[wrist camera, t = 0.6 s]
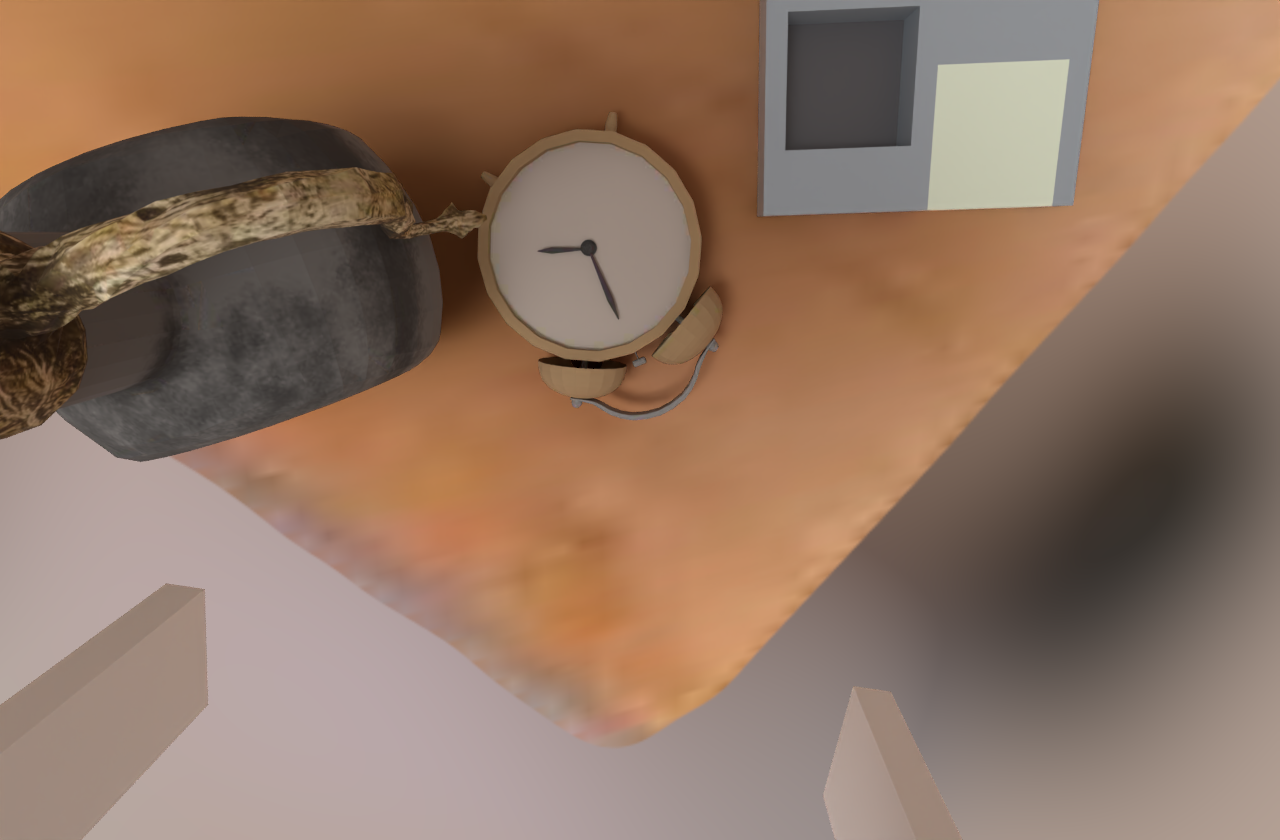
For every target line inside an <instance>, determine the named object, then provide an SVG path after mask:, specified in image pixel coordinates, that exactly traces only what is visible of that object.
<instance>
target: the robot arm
mask: <svg viewBox="0 0 1280 840" xmlns="http://www.w3.org/2000/svg"><path fill="white" fill-rule="evenodd" d="M205 619H206V618H205V589H200V588H192V587H186V586H179V585H173V584H165V585H164V586H162V587H161V588H160V589H159V590H157V591H155V592H154V593H153V594H151V595H150V596H149V597H147V598H146V599H145V600H143V601H142V602H141V603H139V604H138V605H136V606H135V607H134V608H132V609H131V610H130V611H128V612H127V613H125V614H124V615H123V616H121V617H120V618H119V619H117V620H116V621H115V622H113V623H112V624H110V625H109V626H108V627H106V628H105V629H104V630H102V631H101V632H99V633H98V634H97V635H96V636H94V637H93V638H91V639H90V640H89V641H88V642H86V643H84V644H83V645H82V646H81V647H79V648H78V649H76V650H75V651H74V652H72V653H71V654H70V655H68V656H67V657H65V658H64V659H63V660H61V661H60V662H59V663H57V664H56V665H55V666H53V667H52V668H50V669H49V670H48V671H46V672H45V673H43V674H42V675H41V676H39V677H38V678H37V679H35V680H34V681H33V682H31V683H30V684H28V685H27V686H26V687H24V688H23V689H22V690H21V691H19V692H18V693H16V694H15V695H13V696H12V697H11V698H9V699H8V700H7V701H5V702H4V703H3V704H1V705H0V840H82V839H83V837H84V836H85V835H86V834H87V833H88V832H89V831H90V830H91V829H92V828H93V827H94V826H95V824H97V823H98V822H99V820H100V819H101V818H102V817H103V816H104V815H105V814H106V813H107V812H108V811H109V810H110V809H111V808H112V807H113V806H114V804H115V803H116V802H117V801H118V800H119V799H120V798H121V797H122V796H123V795H124V794H125V793H126V792H127V790H129V788H130V787H131V786H132V785H133V784H134V783H135V782H136V781H137V780H138V779H139V778H140V777H141V776H142V775H143V774H144V772H145V771H146V770H147V769H148V768H149V767H150V766H151V765H152V764H153V763H154V762H155V761H156V760H157V758H158V757H159V756H160V755H161V754H162V753H163V752H164V751H165V750H166V749H167V748H168V747H169V746H170V745H171V744H172V742H174V740H175V739H176V738H177V737H178V736H179V735H180V734H181V733H182V732H183V731H184V730H185V729H186V727H188V725H189V724H190V723H191V722H192V721H193V720H194V719H195V718H196V717H197V716H198V715H199V714H200V713H201V712H202V710H203V709H204V708H205V707H206V706H207V705H208V689H207V655H206V620H205ZM823 798H824V801H825V805H826V808H827V812H828V815H829V819H830V823H831V826H832V830H833V834H834V837H835V840H962V838H961V836H960V834H959V832H958V830H957V827H956V826H955V823H954V821H953V819H952V817H951V815H950V813H949V811H948V809H947V807H946V805H945V803H944V801H943V799H942V797H941V795H940V792H939V790H938V788H937V786H936V784H935V782H934V780H933V778H932V776H931V774H930V772H929V770H928V768H927V766H926V764H925V762H924V759H923V757H922V755H921V753H920V751H919V749H918V747H917V745H916V743H915V741H914V739H913V737H912V735H911V733H910V731H909V729H908V726H907V724H906V722H905V720H904V718H903V716H902V714H901V712H900V710H899V708H898V706H897V704H896V702H895V700H894V698H893V696H892V694H891V692H889V691H882V690H875V689H869V688H862V687H855V686H854V687H853V689H852V693H851V696H850V700H849V703H848V707H847V711H846V714H845V718H844V722H843V725H842V729H841V732H840V736H839V739H838V743H837V746H836V750H835V754H834V757H833V761H832V764H831V768H830V772H829V775H828V779H827V782H826V786H825V790H824V793H823Z"/></svg>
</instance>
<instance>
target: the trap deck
mask: <svg viewBox="0 0 1280 840" xmlns="http://www.w3.org/2000/svg"><path fill="white" fill-rule="evenodd" d="M1098 5H1099V0H760V18H759V103H758V187H757V217H763V216H793V215H823V214H852V213H882V212H911V211H941V210H970V209H1000V208H1029V207H1054V206H1070V205H1073V203H1074V195H1075V187H1076V179H1077V171H1078V163H1079V155H1080V147H1081V139H1082V131H1083V123H1084V116H1085V108H1086V100H1087V92H1088V84H1089V76H1090V68H1091V60H1092V52H1093V44H1094V36H1095V28H1096V21H1097V13H1098Z"/></svg>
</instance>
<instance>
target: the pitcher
mask: <svg viewBox="0 0 1280 840" xmlns="http://www.w3.org/2000/svg"><path fill="white" fill-rule="evenodd" d="M486 220H487V216H486V215H485V214H482V213H479V212H477V211H475V210H465V211H459V210H457V208H456V207H455V206H454V204H453V203H451V204H450V206H449V207H447V208H446V209H445V210H444V212H443V213H442V214H441V215H440V216H439V217H438V218H437V219H434V220H430V221H425V222H423V221H422V219H421V217H420V215H419V213H418V211H417V209H416V207H415V205H414V203H413V202H412V200H411V199H410V197H409V196H408V195H407V193H406V192H405V190H404V189H403V187H402V185H401V183H399V182H398V180H397V178H396V176H395V174H394V173H392V172H391V170H390V169H389V167H388V166H387V165H386V164H385V163H384V162H383V161H382V160H381V159H380V158H379V157H378V156H377V155H376V154H375V153H374V152H373V151H372V150H371V149H370V148H369V147H368V146H367V145H366V144H365V143H364V142H363V141H362V140H361V139H360V138H359V137H357V136H355V135H354V134H352V133H350V132H348V131H347V130H344V129H340V128H337V127H334V126H331V125H328V124H323V123H317V122H312V121H305V120H291V119H280V118H269V117H226V118H217V119H211V120H205V121H199V122H195V123H190V124H185V125H181V126H176V127H171V128H167V129H162V130H159V131H155V132H151V133H147V134H144V135H140V136H136V137H133V138H129V139H125V140H122V141H119V142H116V143H113V144H110V145H107V146H104V147H101V148H98V149H95V150H92V151H89V152H86V153H83V154H81V155H78V156H76V157H74V158H71V159H69V160H67V161H64V162H62V163H60V164H57V165H55V166H53V167H50V168H48V169H46V170H44V171H42V172H40V173H38V174H36V175H34V176H33V177H31V178H30V179H28V180H26V181H25V182H23V183H21V184H20V185H18V186H16V187H15V188H13V189H12V190H10V191H9V192H8V193H7V194H6V195H5V196H3V197H2V198H1V199H0V439H4V438H8V437H10V436H13V435H16V434H18V433H21V432H23V431H26V430H29V429H32V428H35V427H37V426H40V425H42V424H43V423H44V422H45V421H46V420H47V419H48V418H49V417H50V416H51V415H52V414H53V413H54V412H55V411H56V412H57V413H58V414H59V415H60V416H61V417H62V418H63V419H64V420H65V421H67V422H68V423H69V424H71V425H72V426H74V427H75V428H76V429H78V430H79V431H81V432H82V433H83V434H85V435H86V436H88V437H89V438H91V439H92V440H93V441H95V442H96V443H98V444H99V445H100V446H102V447H103V448H104V449H106V450H107V451H108V452H110V453H111V454H113V455H114V456H115V457H117V458H123V459H129V460H134V461H140V462H141V461H149V460H154V459H158V458H163V457H168V456H172V455H176V454H180V453H184V452H188V451H191V450H195V449H199V448H202V447H205V446H209V445H212V444H216V443H219V442H222V441H226V440H229V439H232V438H236V437H239V436H242V435H245V434H248V433H251V432H254V431H257V430H260V429H263V428H266V427H269V426H272V425H275V424H278V423H280V422H283V421H286V420H289V419H291V418H294V417H297V416H300V415H302V414H305V413H308V412H311V411H313V410H316V409H319V408H322V407H324V406H327V405H330V404H332V403H335V402H337V401H340V400H342V399H345V398H347V397H350V396H352V395H355V394H357V393H360V392H362V391H365V390H367V389H369V388H372V387H374V386H377V385H379V384H381V383H383V382H386V381H388V380H390V379H392V378H395V377H397V376H399V375H401V374H403V373H405V372H407V371H409V370H411V369H412V368H414V367H415V366H417V365H418V364H420V363H421V362H422V361H423V360H424V359H425V358H427V357H428V356H429V355H430V354H431V352H432V351H433V349H434V348H435V346H436V344H437V343H438V341H439V338H440V332H441V319H442V307H443V300H442V290H441V280H440V271H439V267H438V263H437V260H436V256H435V252H434V249H433V245H432V242H431V238H430V236H429V234H433V233H439V232H449V233H452V234H455V235H457V236H458V237H460V238H462V239H463V238H464V237H465V236H467V234H468V233H469V232H471V231H472V229H473V228H477V227H480V226H481V225H482V224H483V223H484V222H485V221H486Z"/></svg>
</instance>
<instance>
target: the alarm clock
mask: <svg viewBox="0 0 1280 840" xmlns="http://www.w3.org/2000/svg"><path fill="white" fill-rule="evenodd" d="M616 131H617V113H615V112H609V115H608V118H607V121H606V124H605V130H604V131H602V130H585V129H575V130H571V131H567V132H564V133H560V134H557V135H553V136H550V137H546V138H543V139H541V140H539V141H538V142H536V143H535V144H533V145H532V146H530V147H529V148H528V149H526V150H525V151H523V152H522V153H520V154H519V155H518V156H516V157H515V158H513V159H512V160H511V161H510V163H509V164H508V165H507V167H506V168H505V169H504V171H503V172H502V173H501V175H500V176H499V177H497V176H495V175H493V174H491V173H488V172H486V171H484V172H483V173H482V175H481V178H482V179H483V180H484V181H485V182H486V183H487V184H488V185H489V186H490V187H491V188H490V190H489V193H488V196H487V199H486V202H485V205H484V208H483V211H482V214H485V215H486V216H487V220H486V221H485V222H484V223H483V224H482V225H481V226H480V227H478V263H479V266H480V270H481V273H482V277H483V280H484V284H485V287H486V291H487V294H488V296H489V297H490V299H491V300H492V302H493V303H494V305H495V306H496V308H497V310H498V311H499V313H500V314H501V316H502V317H503V319H504V320H505V322H506V323H507V324H508V325H509V326H510V327H511V328H512V329H514V330H515V331H516V332H517V333H518V334H520V335H521V336H522V337H523V338H524V339H526V340H527V341H528V342H529V343H530V344H532V345H533V346H535V347H537V348H540V349H542V350H544V351H547V352H549V353H552V354H554V355H557V356H559V357H549V358H542V359H539V361H538V364H539V372H540V375H541V377H542V380H543V381H544V382H545V384H546V385H547V386H548V387H549V388H551V389H552V390H554V391H556V392H557V393H560V394H562V395H565V396H569V397H571V398H570V400H572V405H573V407H576V408H579V407H580V406H581V405H582V402H586V403H590V404H594V405H595V406H597V407H598V408H600V409H602V410H603V411H605V412H607V413H608V414H610V415H613V416H616V417H618V418H622V419H628V420H641V419H649V418H652V417H656V416H660V415H662V414H664V413H666V412H668V411H669V410H671V409H673V408H674V407H676V406H677V405H678V404H679V403H681V402H682V401H683V400H684V399H685V398H686V397H687V395H688V394H689V393H690V391H691V390H692V389H693V387H694V384H695V382H696V380H697V377H698V374H699V370H700V367H701V365H702V362H703V360H704V358H705V355H706V353H707V351H708V349H709V350H710V351H713V352H715V351H716V350H717V349H718V347H719V346H718V343H717V342H716V341H715V339H714V338H713V337H714V336H715V334H716V332H717V330H718V328H719V326H720V323H721V319H722V302H721V300H720V298H719V296H718V294H717V293H716V292H715V290H714V289H713V288H712V287H711V286H710V287H709V288H708V289H707V290H706V291H705V292H704V293H703V294H702V295H701V296H700V297H699V299H698V300H697V301H696V302H695V303H694V304H693V305H694V308H693V309H692V311H691V312H690V313H689V314H688V315H687V317H686V318H685V319H684V318H683V317H681V316H680V314H681V312H682V311H683V310H684V309H685V307H686V305H687V302H688V300H689V297H690V295H691V292H692V290H693V288H694V285H695V283H696V280H697V278H698V276H699V266H700V255H701V243H702V237H701V232H700V228H699V223H698V219H697V214H696V210H695V206H694V202H693V200H692V198H691V197H690V195H689V193H688V191H687V190H686V188H685V186H684V185H683V183H682V181H681V180H680V178H679V176H678V174H677V173H676V171H675V170H674V169H673V168H672V167H671V166H670V165H669V164H668V163H666V162H665V161H664V160H663V159H662V158H661V157H660V156H658V155H657V154H656V153H655V152H654V151H653V150H652V149H650V148H649V147H648V146H647V145H645V144H643V143H640V142H638V141H635V140H633V139H630V138H628V137H626V136H623V135H621V134H618V133H616ZM675 320H676V321H677V322H678V323H679V324H680V325H679V326H678V327H677V329H676V330H675V331H674V332H673V333H671V332H670V333H669V334H668V335H667V337H666V338H665V339H664V340H663V342H662V343H661V344H660V345H659V347H658V348H657V349H656V350H655V352H654V353H653V355H652V357H654V358H655V359H656V360H658V361H660V362H662V363H666V364H681V363H684V362H687V361H689V360H690V359H692V358H694V357H695V356H697V355H698V354H699V353H700V352H701V351H703V350H704V351H703V352H702V354H701V355H700V357H699V359H698V361H697V364H696V367H695V371H694V374H693V376H692V378H691V380H690V382H689V384H688V385H687V387H686V388H685V389H684V391H683V392H682V393H681V394H679V395H678V396H677V397H676V398H675V399H673V400H672V401H671V402H669V403H667V404H665V405H663V406H661V407H660V408H656V409H652V410H649V411H642V412H627V411H621V410H618V409H616V408H613V407H611V406H609V405H607V404H605V403H604V402H602V401H599V400H597V399H594V398H596V397H601V396H604V395H607V394H609V393H611V392H613V391H614V390H615V389H617V388H618V387H619V386H620V385H621V383H622V381H623V380H624V377H625V374H626V369H627V366H626V364H623V363H620V362H615V361H609V360H608V359H612V358H617V357H621V356H625V355H629V354H633V353H634V352H635V354H636V356H637V353H636V351H638V350H639V349H641V348H642V347H644V346H646V345H647V344H649V343H651V342H652V341H654V340H655V339H657V338H659V337H660V336H662V335H663V334H664V333H665V331H666V330H667V329H668V328H669V327H670V325H671V324H672V323H673V322H674V321H675ZM570 359H571V360H582V363H581V368H574V366H573V365H572V363H571V360H570ZM588 361H597V362H600V361H604V362H603V365H602V367H601V368H600V369H587V366H588ZM646 362H647V361H646V358H645V357H642V358H638V356H637V360H634V361H633V362H632V363H633V366H634V367H637V366H640V365H642V364H644V363H646Z"/></svg>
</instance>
